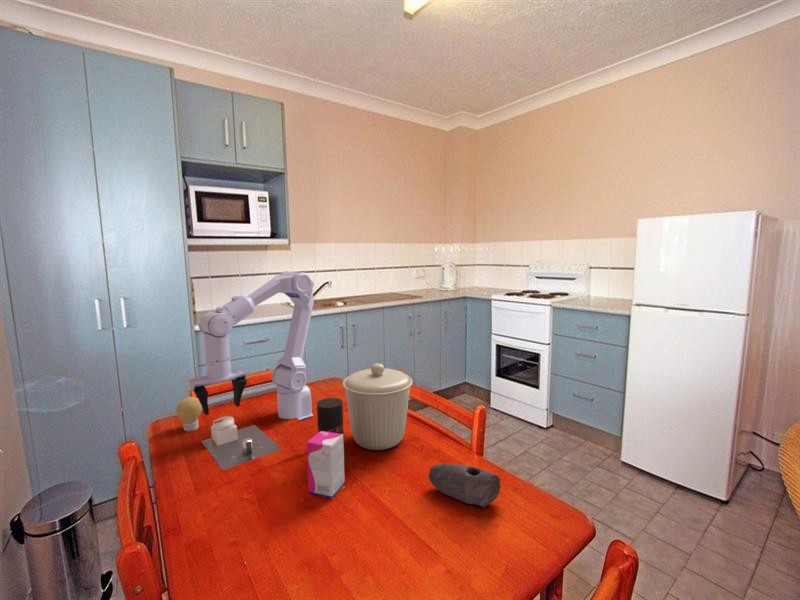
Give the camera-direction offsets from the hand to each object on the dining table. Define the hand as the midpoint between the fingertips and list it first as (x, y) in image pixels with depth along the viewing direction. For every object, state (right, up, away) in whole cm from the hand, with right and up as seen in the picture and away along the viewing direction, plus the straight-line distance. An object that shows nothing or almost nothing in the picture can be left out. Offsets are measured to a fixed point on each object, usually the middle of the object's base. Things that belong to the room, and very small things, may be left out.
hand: (221, 409), depth 101 cm
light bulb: (-12, -9, +8) cm, 17 cm away
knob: (0, -8, +1) cm, 8 cm away
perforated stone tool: (+59, -12, -22) cm, 64 cm away
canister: (+41, -9, +2) cm, 42 cm away
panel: (+6, -10, -2) cm, 11 cm away
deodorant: (+30, -11, -8) cm, 33 cm away
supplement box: (+31, -12, -18) cm, 38 cm away
